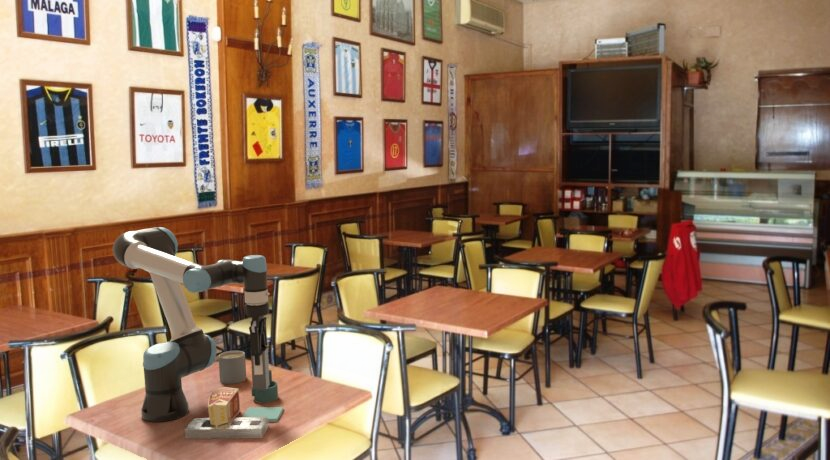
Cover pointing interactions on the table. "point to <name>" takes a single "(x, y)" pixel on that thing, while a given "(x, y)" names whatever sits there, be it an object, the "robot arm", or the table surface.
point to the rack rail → (227, 428)
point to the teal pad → (264, 412)
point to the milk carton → (223, 405)
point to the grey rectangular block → (263, 379)
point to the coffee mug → (232, 367)
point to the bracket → (266, 392)
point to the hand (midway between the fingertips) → (260, 371)
